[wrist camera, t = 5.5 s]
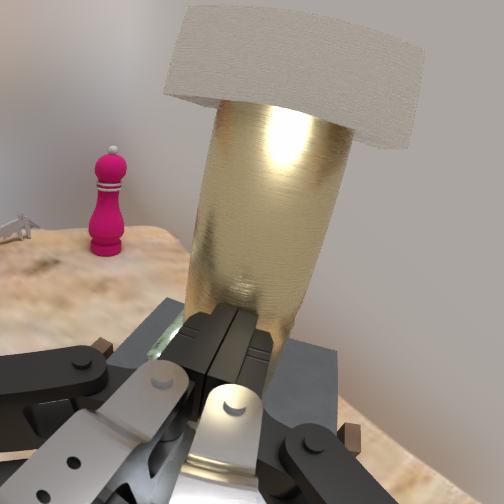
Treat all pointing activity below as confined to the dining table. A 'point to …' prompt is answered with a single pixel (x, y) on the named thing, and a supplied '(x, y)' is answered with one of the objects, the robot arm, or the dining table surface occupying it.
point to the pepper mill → (108, 205)
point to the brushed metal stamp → (275, 181)
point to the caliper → (15, 227)
